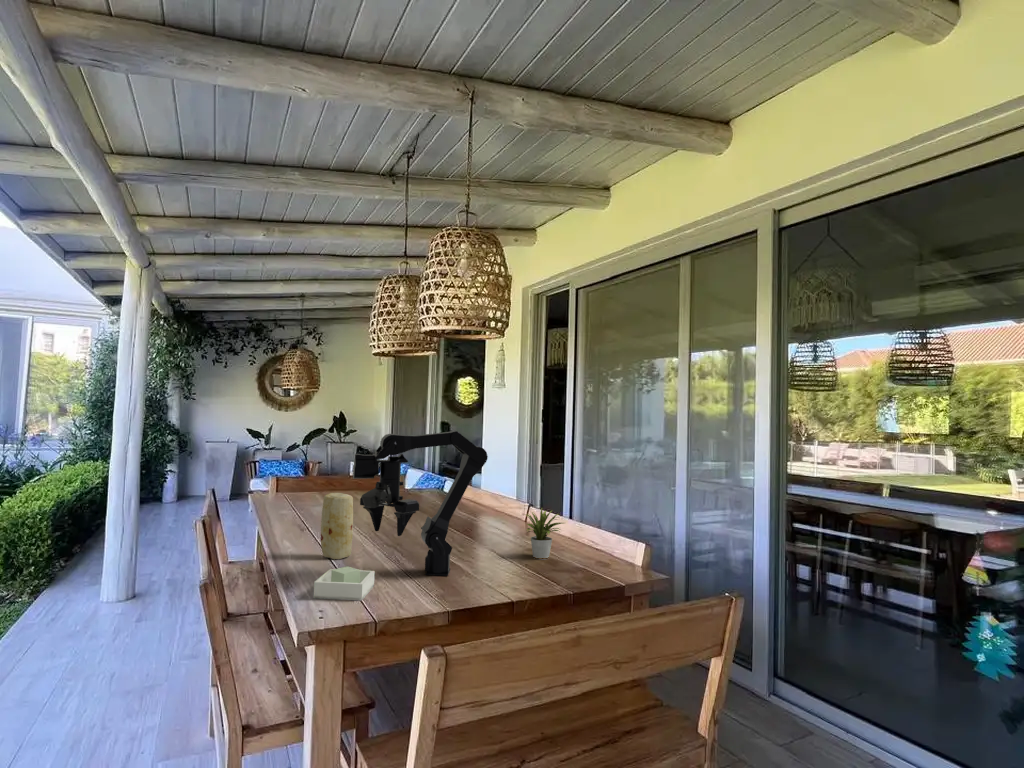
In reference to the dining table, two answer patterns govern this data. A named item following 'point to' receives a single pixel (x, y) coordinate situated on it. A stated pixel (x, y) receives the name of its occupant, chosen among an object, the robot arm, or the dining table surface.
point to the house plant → (541, 534)
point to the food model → (337, 525)
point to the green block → (346, 575)
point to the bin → (343, 587)
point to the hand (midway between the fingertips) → (388, 533)
